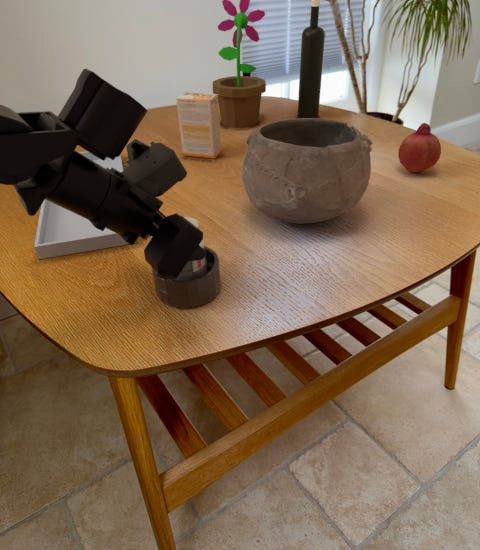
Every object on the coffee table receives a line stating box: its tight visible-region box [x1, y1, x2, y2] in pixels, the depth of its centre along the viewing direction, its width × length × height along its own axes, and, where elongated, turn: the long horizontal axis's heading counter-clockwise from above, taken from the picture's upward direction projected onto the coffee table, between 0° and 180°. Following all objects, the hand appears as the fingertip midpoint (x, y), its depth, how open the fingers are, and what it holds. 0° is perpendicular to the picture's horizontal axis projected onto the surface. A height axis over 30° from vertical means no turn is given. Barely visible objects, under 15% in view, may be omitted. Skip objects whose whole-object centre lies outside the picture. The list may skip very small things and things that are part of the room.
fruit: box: [397, 122, 442, 173], centre depth 87 cm, size 8×8×10 cm
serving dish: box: [33, 150, 137, 260], centre depth 84 cm, size 15×39×2 cm, turn 16°
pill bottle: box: [167, 216, 208, 280], centre depth 58 cm, size 6×6×10 cm
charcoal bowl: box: [151, 246, 222, 309], centre depth 60 cm, size 9×9×4 cm
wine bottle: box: [297, 0, 326, 119], centre depth 113 cm, size 6×6×30 cm
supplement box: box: [175, 92, 222, 159], centre depth 97 cm, size 8×5×13 cm, turn 71°
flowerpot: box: [212, 0, 267, 129], centre depth 111 cm, size 14×14×30 cm
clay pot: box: [241, 117, 373, 225], centre depth 73 cm, size 21×21×15 cm
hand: (192, 245), depth 58 cm, fingers closed on pill bottle, 6 cm apart
